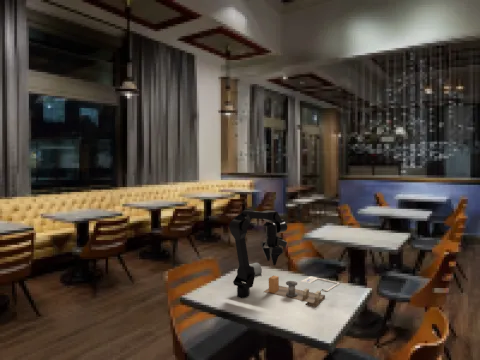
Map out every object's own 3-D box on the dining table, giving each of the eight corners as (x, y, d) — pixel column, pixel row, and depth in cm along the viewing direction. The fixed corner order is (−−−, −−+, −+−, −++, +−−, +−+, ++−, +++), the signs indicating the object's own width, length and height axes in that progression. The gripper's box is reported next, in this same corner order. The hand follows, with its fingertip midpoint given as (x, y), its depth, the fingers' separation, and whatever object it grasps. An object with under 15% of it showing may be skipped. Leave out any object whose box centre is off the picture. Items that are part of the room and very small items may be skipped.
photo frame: (310, 275, 200) (339, 282, 188) (310, 277, 200) (339, 284, 188) (296, 282, 189) (327, 290, 177) (296, 284, 189) (327, 292, 177)
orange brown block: (278, 289, 177) (278, 276, 176) (274, 293, 173) (273, 279, 172) (273, 288, 178) (273, 275, 178) (268, 291, 174) (268, 278, 174)
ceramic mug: (243, 276, 204) (243, 263, 203) (254, 273, 208) (254, 261, 207) (254, 281, 195) (253, 268, 194) (265, 278, 199) (265, 265, 199)
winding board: (315, 306, 159) (315, 290, 158) (263, 294, 174) (262, 280, 174) (325, 298, 169) (324, 283, 168) (274, 287, 184) (274, 273, 184)
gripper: (292, 236, 177) (292, 266, 178) (279, 230, 195) (278, 257, 196) (272, 237, 175) (272, 268, 175) (260, 231, 193) (260, 259, 193)
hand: (271, 263), depth 185 cm, fingers open, 9 cm apart
